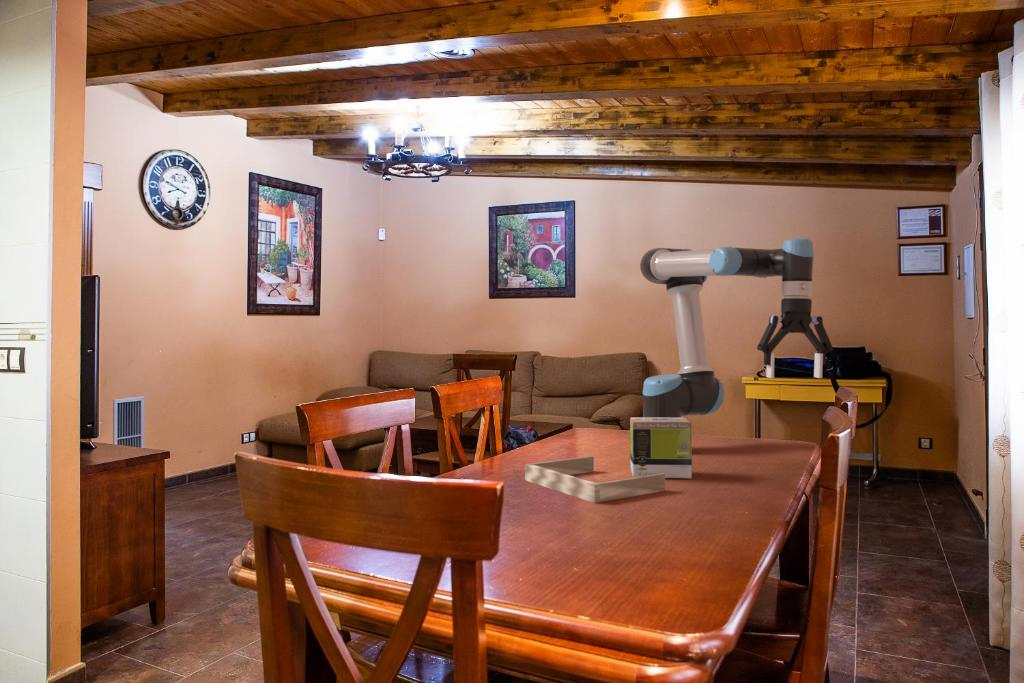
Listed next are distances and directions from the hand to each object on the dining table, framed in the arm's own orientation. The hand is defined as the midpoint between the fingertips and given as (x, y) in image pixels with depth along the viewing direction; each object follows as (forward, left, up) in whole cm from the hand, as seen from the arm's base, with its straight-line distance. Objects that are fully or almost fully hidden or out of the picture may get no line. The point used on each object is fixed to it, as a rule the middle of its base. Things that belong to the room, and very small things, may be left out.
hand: (794, 377), depth 191 cm
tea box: (-16, -33, -26) cm, 45 cm away
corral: (-17, -55, -25) cm, 63 cm away
